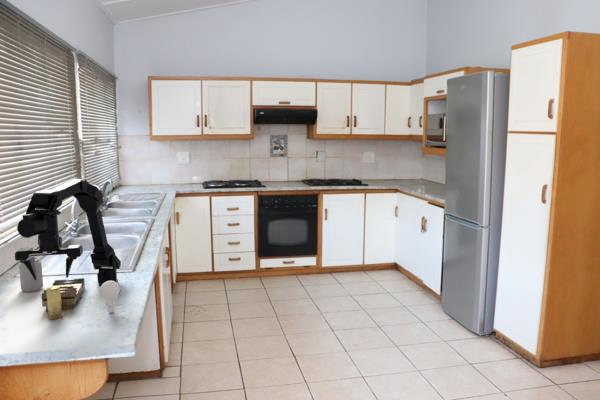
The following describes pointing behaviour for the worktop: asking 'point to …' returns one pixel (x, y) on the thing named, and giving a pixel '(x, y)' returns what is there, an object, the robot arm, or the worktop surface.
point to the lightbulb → (110, 294)
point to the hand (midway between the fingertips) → (51, 278)
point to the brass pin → (54, 303)
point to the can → (31, 277)
